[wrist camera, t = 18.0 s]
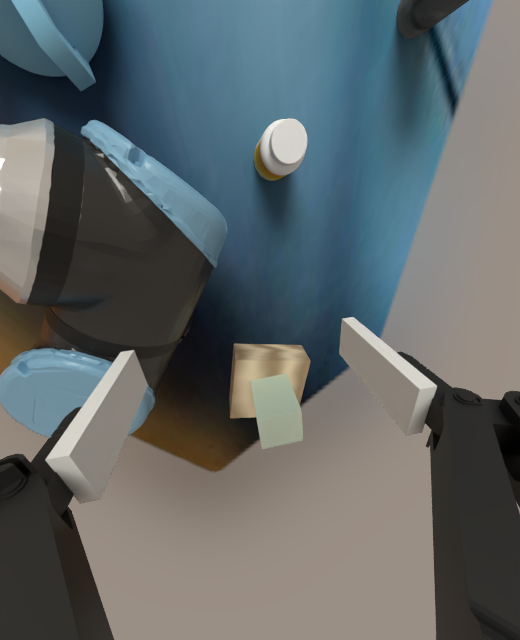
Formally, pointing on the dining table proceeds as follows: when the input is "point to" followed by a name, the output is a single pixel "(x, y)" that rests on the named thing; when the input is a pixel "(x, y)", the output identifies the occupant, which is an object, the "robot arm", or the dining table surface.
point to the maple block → (264, 372)
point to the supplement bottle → (280, 149)
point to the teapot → (52, 36)
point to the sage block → (276, 411)
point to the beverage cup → (423, 15)
